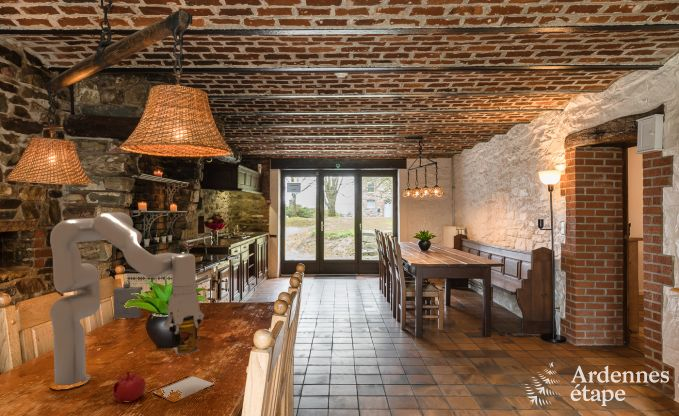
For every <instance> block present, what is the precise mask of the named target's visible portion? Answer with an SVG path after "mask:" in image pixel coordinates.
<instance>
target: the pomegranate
mask: <svg viewBox="0 0 679 416" xmlns="http://www.w3.org/2000/svg"><path fill="white" fill-rule="evenodd" d="M122 375H123V376H124V377H118V378H116V382H115V384H114V385H113V387H112V396H113V398H114V400H115V401H116V402H118V401H119V402H118V403H120V402H124V401H133V402H135V401H137V400H138V399H139V397H140V398H141V397H142V396H143V394H144V393H145V390H146V380H145V378H143V377H141V376H140V375H141V373H139V372H131V371H130V370H128V371H126V374H125V373H123V374H122ZM136 399H137V400H136ZM134 400H135V401H134Z"/></svg>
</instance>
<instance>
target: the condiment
mask: <svg viewBox="0 0 679 416" xmlns="http://www.w3.org/2000/svg"><path fill="white" fill-rule="evenodd" d="M178 333H179V334H180V345H178V346H177V345H176V347H173V350H174V352H175V353H176V355H177V356H179V355H187V354H191V353H192V354H193V353H196V352H200V351H201V350H200V349H199V348H198V346H197V345H196V344H197V343H196V341H197V340H196V336H195V323H194V316H190V317H186V318H184V319H183V323H182V325H180V329H179V332H178Z"/></svg>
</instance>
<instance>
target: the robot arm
mask: <svg viewBox="0 0 679 416" xmlns="http://www.w3.org/2000/svg"><path fill="white" fill-rule="evenodd" d="M133 226H134V222H133V219H132V217H131V216H130V215H128V214H127V213H125V212H120V211H118V212H113V211H112V212H111V211H110V212H102V213H100V214H97V216H95V217H90V218H89V217H88V218H86V217H85V218H70V219H66V220H62V221H60V222H58V223H57V224H56V225H55V226H53V228H52V230H51V232H50V236H49V239H50V241H49V242H50V248H51V253H52V274H53V285H54V288H55V290H56V291H57V292H59V293H61V294H62V293H63V294H68V293H73V292H76V293H73V294H70V295H66V296H64V297H61V298H59V299H56V301H54V302H53V303H52V304H51V306H50V308H49V318H50V320H51V326H52V330H53V331H52V332H53V333H52V334H53V360H54V361H53V362H54V363H53V366H54V367H53V369H54V380H55V384H57V385H71V384H75V383H78V382H80V381H81V382H82V383H83V382H85V381H87V380H89V379H90V377H91V374H88V373H86V371H87V367H86V365H87V364H86V334H85V328H84V326H83V325H82V323H81V321H80V320H82V319H85V318H88V317H91V316H93V315H95V314H96V313H98V311H99V310H100V308H101V300H102V299H101V298H102V297H101V277H100V273H99V270H98V268H97V267H96V266H95V265H94V264H91V263H88V262H83V263H82V256H81V251H80V249H79V247H78V246H77V244H78V243H81V242H82V243H84V242H93V241H100V240H106V241H107V242H109V243H110V244H111V245H113V246H114V247H115V248H118V249H119V251H121V252H122V253H123V257H124V258H125V260H126V262H127V264H128V265H129V266H130V267H131V268H132V269H134V270H136V271H137V272H138V273H140V274H141V275H143V276H145V277H147V278H151V279H157V278H159V277H162V276H165V275H171V274H172V275H171V277H172V279H171V281H172V283H171V285H172V294H171V295H170V296H169V301H168V308H167V319H166V320H165V322H164V323H163V327H164V328H165V329H166V330H168V331H169V332H170V333H171V341H172V344H173V345H175V346H176V347H177V346H178V345H180V334H179V333H178V332H179V329H180V325H182V323H183V319H184V318H186V317H190V316H194V323H195V336H196V341H197V339H198V328H199V326H200V324H201V322H202V320H203V318H204V317H205V314H204V313H203V312H202V311H201V308H200V307H201V306H200V301H199V300H200V299H199V295H198V292H197V291H196V290H197V288H198V287H199V284H196V280H197V279H196V257H195V254H192V253H175V252H163V253H158V254H151V253H150V252H149V251H147V250H146V249H145V248H143V247H142V246H141V245H140V244H141V241H142V239H143V236H142V233H141V232H140V231H139V230H138V229H136V228H134V227H133ZM76 243H77V244H76ZM87 377H89V378H87Z"/></svg>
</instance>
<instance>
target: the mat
mask: <svg viewBox="0 0 679 416" xmlns="http://www.w3.org/2000/svg"><path fill="white" fill-rule="evenodd" d="M213 384H214V385H215V383H214V382H211V381H207V380H205V379H202V378H199V377H196V376H194V375H193V376H189V377H187V378H184V379H182V380H179V381H177V382H175V383H172V384H170V385H167V386H165V387H162V388H160V389H161V391H162V390H164V392H165V393H163V391H162V393H163V394H164V395H163V396H164V397H166V398H167V397H169V396H170V392H171V393H172V391H171V390H173V392H176V391H177V390H179V391H180V392H182V393H180V392H178V391H177V392H178V393H180V394H181V395H180V396H181V397H180V396H179V398H183V397H185V396H188V395H190V394H192V393H195V392H197V391H199V390H201V389H204V388H206V387H209V386H211V385H213ZM209 388H210V387H209ZM153 392H154V393H155V394H156V391H153ZM185 394H187V395H185ZM168 395H169V396H168Z"/></svg>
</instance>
